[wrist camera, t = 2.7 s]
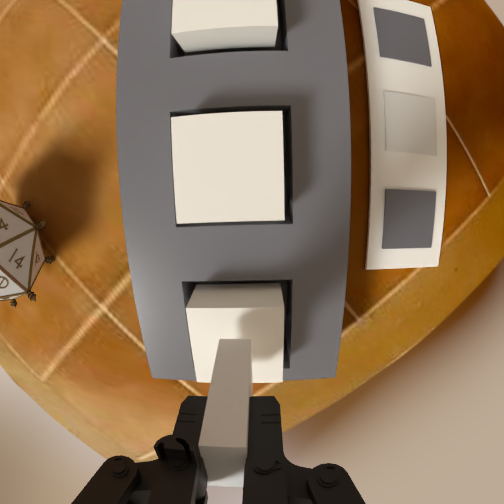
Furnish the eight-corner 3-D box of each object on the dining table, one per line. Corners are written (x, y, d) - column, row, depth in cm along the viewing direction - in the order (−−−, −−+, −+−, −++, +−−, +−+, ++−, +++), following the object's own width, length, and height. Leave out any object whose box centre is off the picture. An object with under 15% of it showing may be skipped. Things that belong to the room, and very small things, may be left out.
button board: (146, -3, 15) (126, -28, 11) (320, -13, 15) (332, -42, 11) (166, 345, 23) (152, 377, 19) (324, 344, 22) (335, 377, 19)
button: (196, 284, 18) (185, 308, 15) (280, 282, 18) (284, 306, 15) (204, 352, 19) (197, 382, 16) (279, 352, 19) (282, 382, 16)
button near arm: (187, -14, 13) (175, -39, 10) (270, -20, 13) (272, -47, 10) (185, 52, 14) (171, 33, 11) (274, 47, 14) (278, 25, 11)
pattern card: (355, -9, 15) (357, -12, 14) (428, 8, 15) (431, 6, 14) (364, 268, 21) (367, 270, 20) (436, 264, 20) (439, 267, 20)
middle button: (186, 123, 15) (171, 117, 12) (277, 119, 15) (282, 110, 12) (190, 212, 17) (176, 223, 14) (279, 209, 17) (284, 220, 14)
